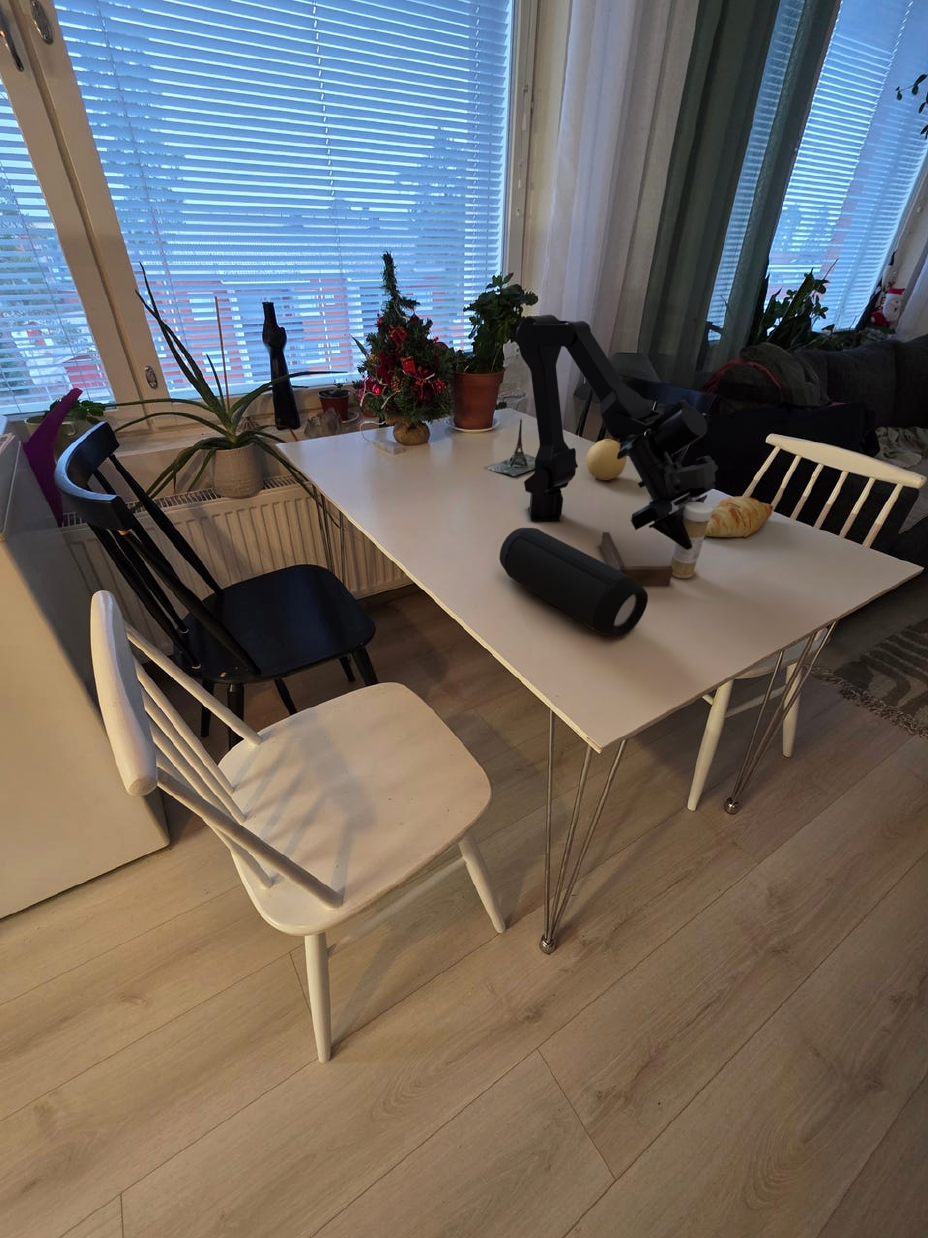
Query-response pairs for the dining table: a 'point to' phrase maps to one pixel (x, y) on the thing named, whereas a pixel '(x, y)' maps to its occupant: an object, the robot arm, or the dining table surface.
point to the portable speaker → (574, 581)
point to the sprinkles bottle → (691, 538)
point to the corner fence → (640, 573)
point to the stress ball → (605, 460)
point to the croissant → (738, 517)
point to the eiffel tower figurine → (516, 460)
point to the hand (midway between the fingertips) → (696, 544)
